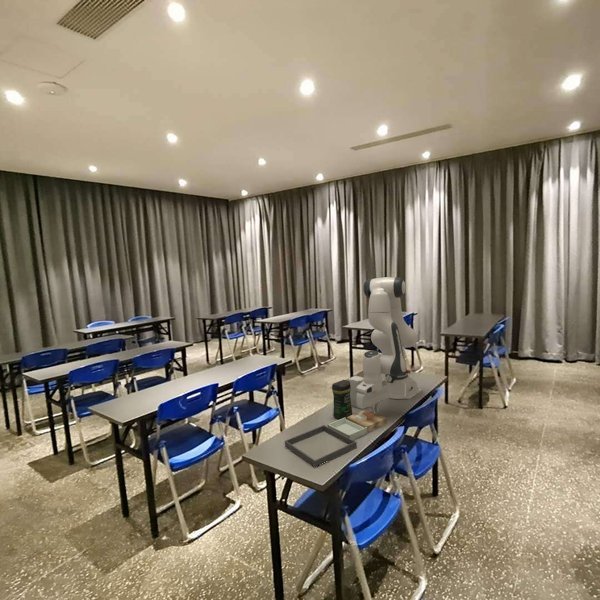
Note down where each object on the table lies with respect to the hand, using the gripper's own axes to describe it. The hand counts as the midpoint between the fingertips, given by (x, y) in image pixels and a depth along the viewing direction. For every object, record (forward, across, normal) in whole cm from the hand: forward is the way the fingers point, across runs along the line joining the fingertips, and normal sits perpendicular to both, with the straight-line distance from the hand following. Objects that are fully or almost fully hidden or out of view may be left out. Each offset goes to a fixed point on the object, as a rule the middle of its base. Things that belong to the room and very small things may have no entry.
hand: (374, 411), depth 177 cm
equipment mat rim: (+4, +36, +2) cm, 36 cm away
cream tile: (+1, +9, 0) cm, 9 cm away
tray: (+4, +18, 0) cm, 19 cm away
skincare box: (+4, -7, -18) cm, 20 cm away
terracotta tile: (+1, +5, 0) cm, 5 cm away
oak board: (+4, +6, 0) cm, 7 cm away
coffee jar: (+4, +8, -14) cm, 17 cm away
